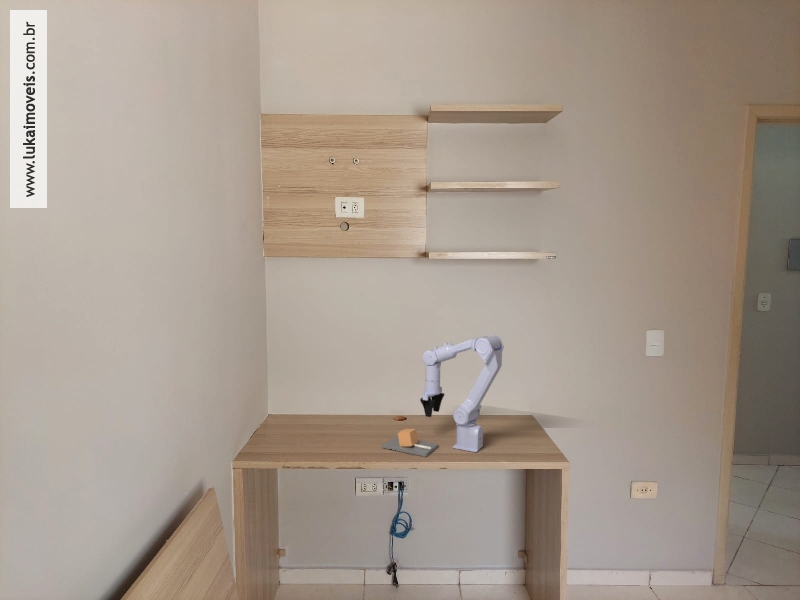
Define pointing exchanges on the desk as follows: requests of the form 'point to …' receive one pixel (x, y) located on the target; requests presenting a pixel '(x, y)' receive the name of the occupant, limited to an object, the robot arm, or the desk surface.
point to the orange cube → (407, 437)
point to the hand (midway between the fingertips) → (432, 413)
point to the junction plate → (411, 447)
